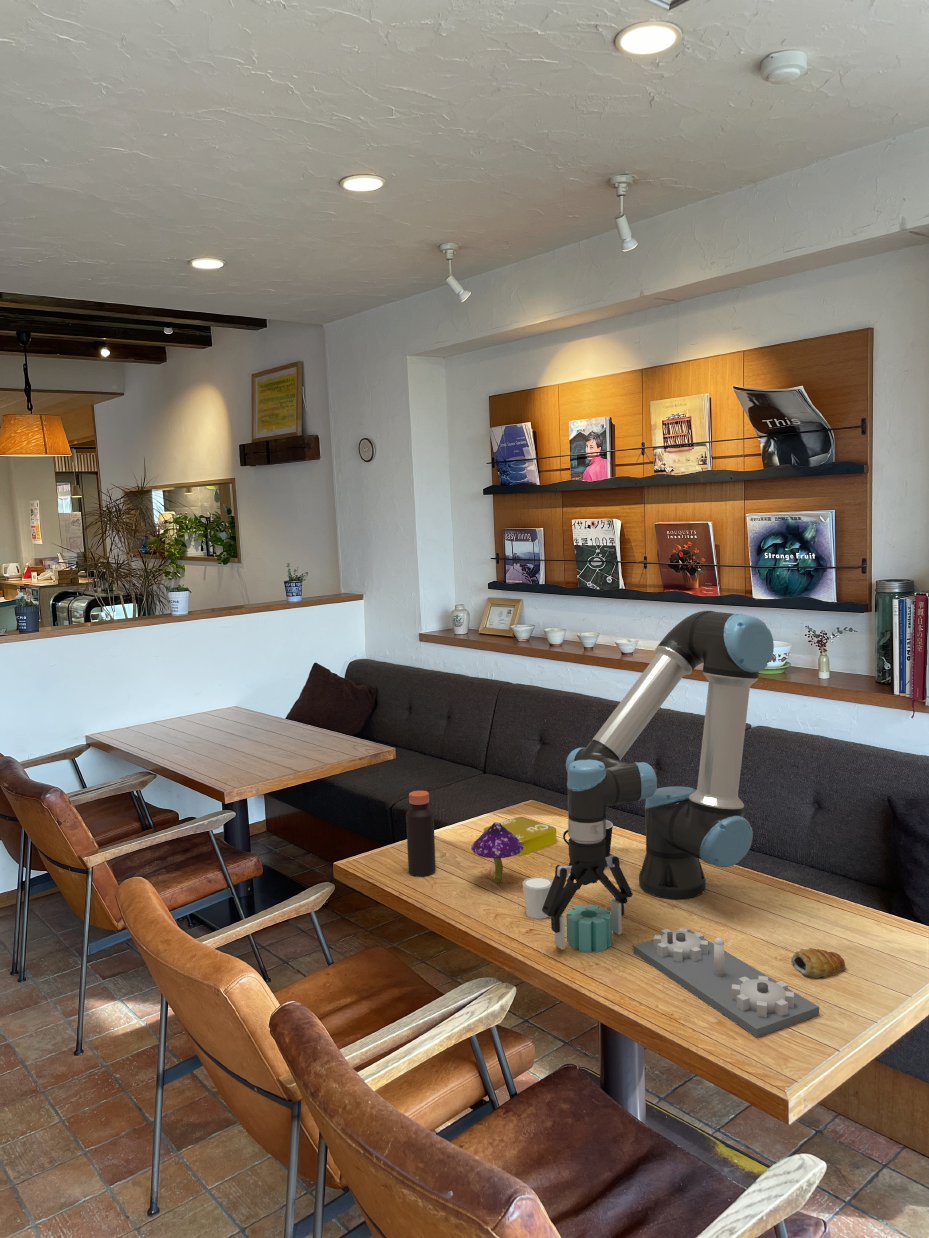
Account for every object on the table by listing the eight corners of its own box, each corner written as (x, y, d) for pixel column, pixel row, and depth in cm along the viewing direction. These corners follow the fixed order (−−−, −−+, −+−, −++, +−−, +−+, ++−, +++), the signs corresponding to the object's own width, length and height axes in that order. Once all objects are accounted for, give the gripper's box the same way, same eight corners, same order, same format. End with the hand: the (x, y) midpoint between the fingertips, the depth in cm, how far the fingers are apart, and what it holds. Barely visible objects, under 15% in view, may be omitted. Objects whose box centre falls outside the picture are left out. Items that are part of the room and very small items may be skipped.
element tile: (521, 830, 254) (520, 813, 254) (560, 843, 243) (559, 826, 242) (480, 843, 245) (480, 826, 244) (518, 858, 233) (518, 840, 233)
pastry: (831, 957, 176) (831, 939, 176) (853, 974, 169) (854, 955, 169) (788, 964, 174) (788, 945, 173) (809, 982, 167) (809, 962, 167)
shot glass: (552, 920, 196) (552, 889, 195) (521, 919, 197) (520, 888, 197) (556, 907, 203) (555, 877, 202) (525, 905, 204) (524, 875, 203)
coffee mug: (618, 859, 229) (617, 821, 228) (605, 872, 221) (605, 832, 220) (575, 852, 235) (575, 815, 234) (562, 864, 227) (561, 825, 226)
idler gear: (595, 928, 191) (594, 901, 191) (620, 945, 183) (619, 917, 183) (559, 938, 188) (558, 910, 187) (583, 956, 180) (582, 927, 179)
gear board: (689, 936, 186) (689, 896, 186) (819, 1015, 156) (819, 968, 155) (633, 952, 180) (632, 911, 180) (756, 1037, 150) (756, 989, 149)
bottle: (433, 877, 222) (429, 797, 220) (405, 876, 223) (402, 797, 221) (438, 866, 229) (435, 789, 226) (411, 866, 230) (408, 789, 228)
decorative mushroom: (461, 883, 218) (459, 822, 216) (499, 868, 226) (497, 810, 224) (497, 898, 208) (495, 835, 207) (535, 882, 216) (534, 821, 215)
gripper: (543, 854, 174) (545, 960, 177) (649, 832, 185) (649, 932, 187) (523, 842, 181) (526, 944, 183) (627, 822, 192) (628, 918, 194)
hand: (588, 939), depth 185 cm, fingers open, 13 cm apart
